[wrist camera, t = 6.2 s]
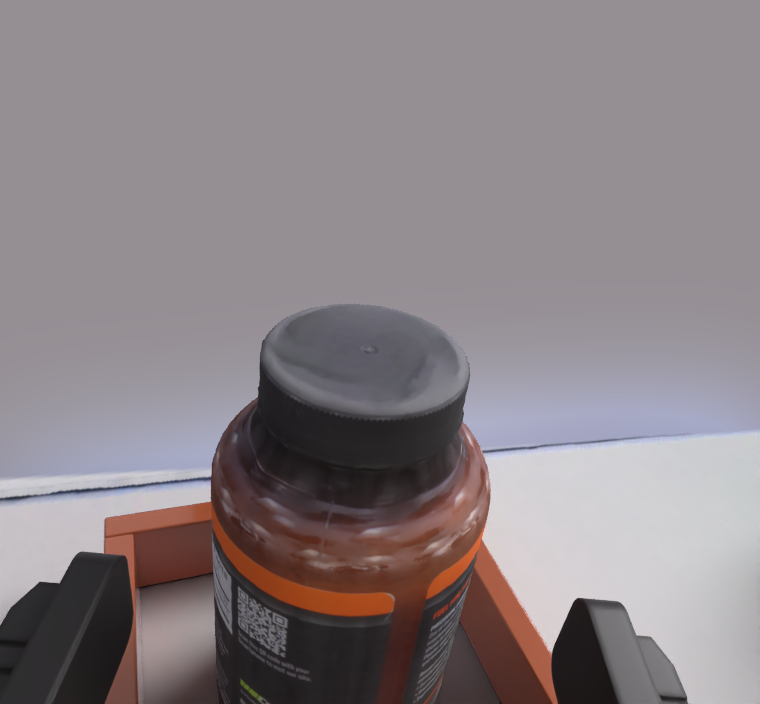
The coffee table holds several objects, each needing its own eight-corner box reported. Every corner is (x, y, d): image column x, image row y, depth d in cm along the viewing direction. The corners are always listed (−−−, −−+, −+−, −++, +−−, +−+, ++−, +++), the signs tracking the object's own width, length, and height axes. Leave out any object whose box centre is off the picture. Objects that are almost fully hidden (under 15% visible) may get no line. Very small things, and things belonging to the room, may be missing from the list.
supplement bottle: (425, 609, 20) (504, 297, 14) (436, 823, 15) (567, 473, 9) (240, 591, 20) (245, 266, 14) (188, 804, 15) (160, 430, 9)
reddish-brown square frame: (108, 1070, 11) (92, 1030, 10) (112, 572, 20) (104, 517, 18) (607, 849, 15) (642, 800, 14) (426, 515, 24) (437, 465, 22)
